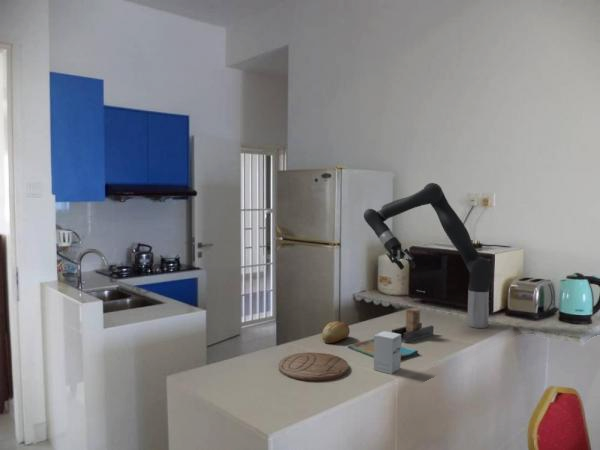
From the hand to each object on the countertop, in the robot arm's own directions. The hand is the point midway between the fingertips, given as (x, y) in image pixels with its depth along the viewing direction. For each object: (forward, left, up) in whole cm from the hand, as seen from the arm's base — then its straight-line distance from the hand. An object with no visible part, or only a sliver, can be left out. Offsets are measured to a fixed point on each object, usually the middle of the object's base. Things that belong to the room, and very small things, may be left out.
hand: (408, 267), depth 220 cm
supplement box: (+50, +30, -29) cm, 65 cm away
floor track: (+10, +11, -29) cm, 32 cm away
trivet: (+70, +13, -29) cm, 77 cm away
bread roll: (+40, -7, -29) cm, 50 cm away
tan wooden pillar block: (+10, +11, -28) cm, 31 cm away
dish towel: (+36, +16, -29) cm, 49 cm away
